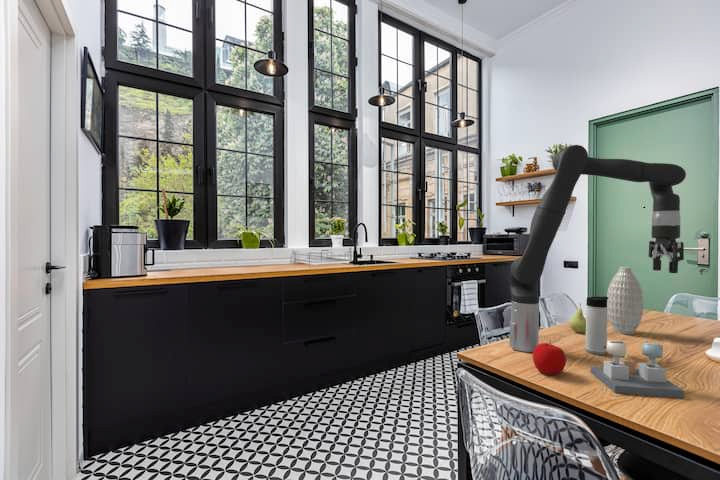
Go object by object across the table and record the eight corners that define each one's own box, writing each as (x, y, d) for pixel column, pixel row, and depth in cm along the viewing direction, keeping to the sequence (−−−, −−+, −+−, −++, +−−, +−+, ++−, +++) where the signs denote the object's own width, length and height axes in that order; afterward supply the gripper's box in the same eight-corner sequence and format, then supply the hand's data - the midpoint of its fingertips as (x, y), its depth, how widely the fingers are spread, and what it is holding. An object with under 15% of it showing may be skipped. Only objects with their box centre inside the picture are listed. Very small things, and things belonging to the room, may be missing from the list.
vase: (606, 327, 163) (607, 265, 162) (642, 331, 156) (643, 266, 155) (605, 333, 153) (606, 267, 152) (643, 338, 145) (645, 269, 145)
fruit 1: (573, 376, 106) (574, 343, 106) (548, 380, 104) (549, 345, 103) (548, 365, 115) (549, 334, 115) (525, 368, 112) (525, 336, 112)
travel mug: (611, 356, 124) (612, 298, 124) (589, 354, 125) (590, 297, 125) (602, 350, 130) (603, 295, 130) (582, 349, 132) (583, 294, 131)
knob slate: (648, 369, 98) (648, 345, 98) (638, 363, 102) (639, 340, 102) (666, 370, 97) (666, 346, 97) (656, 364, 102) (656, 341, 101)
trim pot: (623, 373, 104) (624, 356, 104) (618, 369, 107) (618, 353, 107) (635, 373, 103) (635, 357, 103) (629, 369, 106) (629, 354, 106)
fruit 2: (568, 332, 153) (569, 304, 153) (570, 329, 160) (570, 302, 159) (587, 335, 150) (587, 306, 149) (588, 331, 156) (588, 303, 155)
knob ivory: (611, 366, 100) (611, 343, 100) (603, 361, 104) (604, 339, 104) (629, 368, 99) (629, 344, 99) (620, 362, 103) (620, 340, 103)
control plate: (614, 393, 95) (615, 372, 95) (590, 372, 109) (591, 354, 109) (684, 398, 92) (684, 376, 92) (650, 376, 106) (650, 358, 106)
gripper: (641, 225, 131) (640, 269, 131) (667, 224, 117) (666, 273, 117) (664, 225, 130) (663, 269, 130) (693, 224, 116) (692, 274, 116)
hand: (664, 271), depth 124 cm, fingers open, 8 cm apart
